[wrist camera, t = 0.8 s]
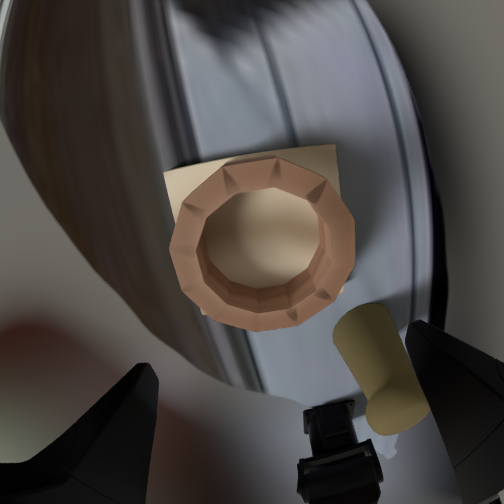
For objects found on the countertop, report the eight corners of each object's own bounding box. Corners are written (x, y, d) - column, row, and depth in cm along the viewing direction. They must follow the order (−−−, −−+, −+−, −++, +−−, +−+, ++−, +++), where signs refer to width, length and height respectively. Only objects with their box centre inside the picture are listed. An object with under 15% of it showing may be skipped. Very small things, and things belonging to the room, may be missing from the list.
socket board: (338, 285, 21) (355, 316, 17) (204, 306, 22) (196, 340, 18) (329, 144, 17) (352, 146, 13) (168, 170, 17) (147, 179, 13)
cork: (347, 299, 22) (400, 402, 12) (400, 306, 22) (459, 391, 12) (322, 350, 24) (352, 450, 14) (373, 353, 25) (412, 438, 15)
